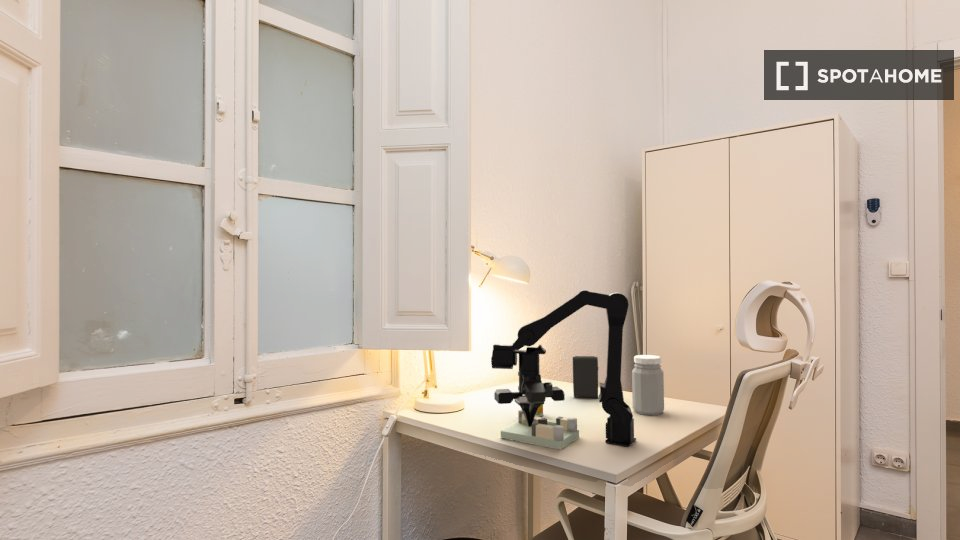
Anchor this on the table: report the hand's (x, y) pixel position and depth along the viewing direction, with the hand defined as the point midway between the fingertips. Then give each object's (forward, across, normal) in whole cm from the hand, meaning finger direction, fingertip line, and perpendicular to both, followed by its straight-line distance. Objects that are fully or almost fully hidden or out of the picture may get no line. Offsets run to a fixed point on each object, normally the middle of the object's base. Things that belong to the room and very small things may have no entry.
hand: (529, 426), depth 139 cm
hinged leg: (+1, +2, +3) cm, 4 cm away
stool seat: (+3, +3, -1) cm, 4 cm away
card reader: (+3, +34, +40) cm, 52 cm away
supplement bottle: (+3, +8, +22) cm, 23 cm away
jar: (+3, +45, +16) cm, 48 cm away
